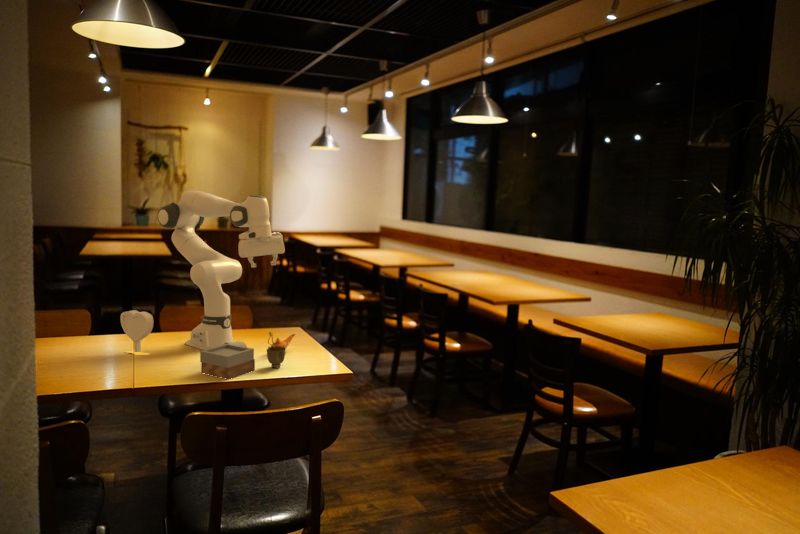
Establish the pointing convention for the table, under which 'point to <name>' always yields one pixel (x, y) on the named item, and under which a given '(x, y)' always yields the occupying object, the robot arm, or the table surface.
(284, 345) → the magic lamp
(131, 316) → the heart sculpture
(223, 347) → the tower block high
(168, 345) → the table surface
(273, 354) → the cup
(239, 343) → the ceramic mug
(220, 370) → the tower block low
